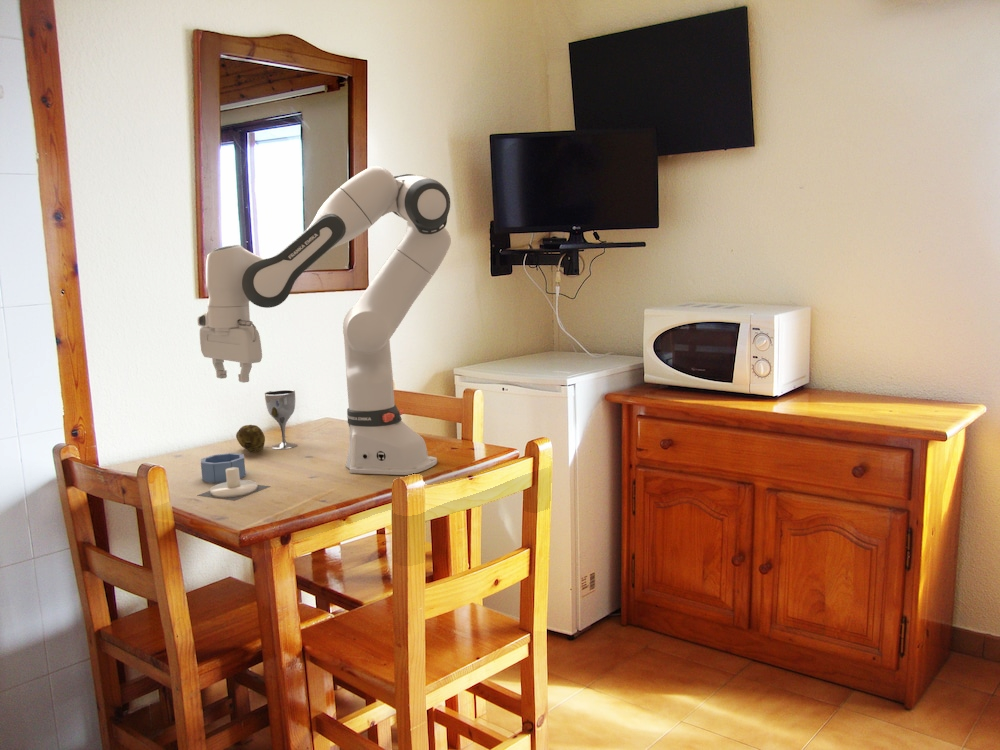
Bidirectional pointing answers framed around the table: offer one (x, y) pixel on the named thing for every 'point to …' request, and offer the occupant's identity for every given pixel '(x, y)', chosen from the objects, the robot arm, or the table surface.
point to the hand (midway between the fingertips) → (232, 380)
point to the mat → (207, 494)
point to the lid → (233, 485)
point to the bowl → (221, 466)
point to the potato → (251, 437)
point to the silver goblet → (281, 411)
